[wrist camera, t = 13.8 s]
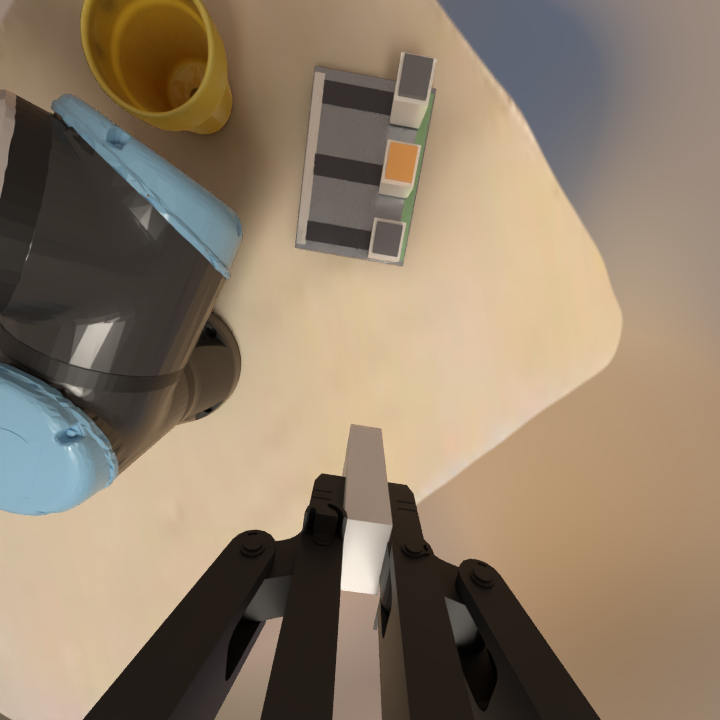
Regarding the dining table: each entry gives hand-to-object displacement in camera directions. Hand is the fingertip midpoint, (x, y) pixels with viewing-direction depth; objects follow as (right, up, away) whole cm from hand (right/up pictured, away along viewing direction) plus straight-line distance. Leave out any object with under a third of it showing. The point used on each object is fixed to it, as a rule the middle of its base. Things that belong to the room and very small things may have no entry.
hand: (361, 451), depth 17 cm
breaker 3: (+2, +17, +20) cm, 27 cm away
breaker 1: (+5, +30, +17) cm, 34 cm away
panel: (0, +24, +21) cm, 32 cm away
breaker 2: (+4, +23, +19) cm, 30 cm away
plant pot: (-17, +32, +19) cm, 41 cm away
